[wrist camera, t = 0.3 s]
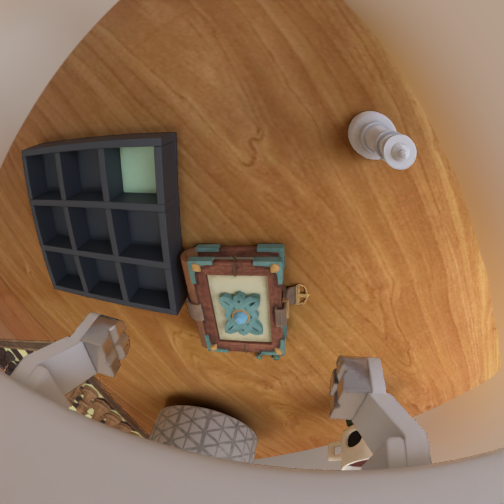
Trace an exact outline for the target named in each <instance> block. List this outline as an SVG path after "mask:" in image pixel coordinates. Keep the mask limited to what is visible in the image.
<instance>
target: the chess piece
mask: <svg viewBox="0 0 504 504" xmlns="http://www.w3.org/2000/svg"><path fill="white" fill-rule="evenodd" d="M348 139H349V142H350V144H351V146H352V148H353V149H354V150H355V151H356V152H357V153H358V154H360V155H361V156H363V157H365V158H367V159H371V160H379V159H382V160H384V161H386V163H387V164H388V165H389V166H391V167H392V168H395V169H399V170H402V169H406V168H408V167H410V166H411V165H412V164H413V162H414V161H415V158H416V152H417V151H416V146H415V144H414V142H413V141H412V140H411V139H410V138H409V137H408V136H406V135H403V134H400V133H398V132H397V131H396V128H395V126H394V125H393V123H392V122H391V121H390V119H389V118H387V117H386V116H384V115H383V114H381V113H378V112H375V111H365V112H361V113H360V114H358V115H356V116H355V117H354V118H353V119H352V121H351V122H350V124H349V128H348Z"/></svg>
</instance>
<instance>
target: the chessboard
mask: <svg viewBox="0 0 504 504" xmlns="http://www.w3.org/2000/svg"><path fill="white" fill-rule="evenodd" d="M54 342H56V341H27V340H7V339H0V368H1V369H3V370H4V369H5V366H7V364H8V365H9V366H8V368H6V371H5V374H7V375H9V376H10V375H11V374H12V372H13V371H14V370H15V368H16V367H17V366H18V364H19V363H20V362H21V360H22V359H23V358H24V357H25V356H26V355H29V354H31V353H33V352H35V351H37V350H39V349H41V348H44V347H46V346H48V345H50V344H52V343H54ZM65 397H66V398H67V400H68V401H69V403H70V408H69V409H71V410H73V411H75V412H78V413H80V414H82V415H84V416H87V417H89V418H91V419H94V420H96V421H98V422H101V423H103V424H106V425H108V426H111V427H114V428H116V429H119V430H122V431H124V432H127V433H130V434H133V435H136V436H139V437H142V438H145V439H149V435H148V434H147V433H146V432H145V431H144V430H143V429H142V428H141V427H140V426H139V425H138V424H137V423H136V422H135V421H134V420H133V419H132V418H131V417H130V416H129V415H128V414H127V413H126V412H125V411H124V410H123V409H122V408H121V407H120V406H119V405H118V404H117V403H116V401H115V400H114V399H113V398H112V397H111V396H110V395H109V394H108V393H107V391H106V390H105V389H104V388H103V387H102V386H101V385H100V383H99V382H98V381H97V380H96V379H95V378H94V376H92V377H90V378H89V379H87V380H86V381H85V382H83V383H82V384H80V385H79V386H77V387H76V388H74V389H73V390H71V391H70V392H68V393H67V394H65Z"/></svg>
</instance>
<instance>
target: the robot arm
mask: <svg viewBox="0 0 504 504" xmlns="http://www.w3.org/2000/svg"><path fill="white" fill-rule="evenodd" d="M125 329H126V326H125V323H124V321H122V320H118V319H115V318H111V317H108V316H104V315H100V314H97V313H94V312H91V313H89V314H88V315H87V316H86V318H85V319H84V320H83V321H82V323H81V324H80V325H79V326H78V328H77V329H76V330H75V331H74V333H73V334H72V335H71V337H68V336H67V337H65V338H63V339H61V340H59V341H56V342H54V343H52V344H50V345H48V346H46V347H44V348H41V349H39V350H37V351H35V352H33V353H31V354H29V355H26V356H25V357H24V358H23V359H22V360H21V362H20V363H19V364H18V366H17V367H16V368H15V370H14V371H13V372H12V374H11V375H10V376H9V375H7V374H5V373H4V372H2V371H1V370H0V504H504V448H500V449H497V450H494V451H490V452H486V453H482V454H479V455H474V456H470V457H465V458H461V459H456V460H450V461H445V462H439V463H433V464H432V463H431V457H430V449H429V443H428V437H427V434H426V433H425V432H424V430H423V429H422V428H421V427H420V426H419V425H418V424H417V423H416V421H415V420H414V419H413V418H412V417H411V416H410V415H409V414H408V412H407V411H406V410H405V409H404V408H403V407H402V406H401V405H400V404H399V402H398V401H397V400H396V399H395V398H394V397H393V396H392V395H391V394H390V393H386V387H385V381H384V375H383V370H382V364H381V360H380V358H374V357H357V356H341V355H340V356H339V357H338V359H337V362H336V366H337V368H336V369H334V370H333V373H332V376H331V380H330V395H331V396H332V399H331V402H330V418H331V419H346V420H352V422H353V424H354V425H355V427H356V429H357V430H358V432H359V433H360V435H361V436H362V438H363V440H364V441H365V443H366V444H367V446H368V447H369V449H370V451H371V452H372V454H373V455H372V456H371V457H370V458H369V459H368V460H367V461H366V462H365V463H364V464H363V465H362V466H361V470H313V469H296V468H285V467H276V466H266V465H259V464H252V463H246V462H239V461H234V460H228V459H223V458H218V457H213V456H208V455H203V454H199V453H195V452H191V451H187V450H183V449H179V448H175V447H171V446H168V445H164V444H161V443H158V442H154V441H151V440H148V439H145V438H142V437H139V436H136V435H133V434H130V433H127V432H124V431H122V430H119V429H116V428H114V427H111V426H108V425H106V424H103V423H101V422H98V421H96V420H94V419H91V418H89V417H87V416H84V415H82V414H80V413H78V412H75V411H73V410H71V409H69V408H70V403H69V401H68V400H67V398H66V397H65V394H67V393H68V392H70V391H71V390H73V389H74V388H76V387H77V386H79V385H80V384H82V383H83V382H85V381H86V380H87V379H89V378H90V377H92V376H93V375H95V374H96V373H97V372H98V373H101V374H104V375H107V376H111V377H114V376H115V375H116V373H117V371H118V370H119V368H120V366H121V364H120V360H122V359H124V358H125V357H126V356H127V354H128V352H129V348H130V339H129V336H128V335H127V334H126V332H125V331H124V330H125Z"/></svg>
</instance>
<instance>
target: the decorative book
mask: <svg viewBox="0 0 504 504" xmlns="http://www.w3.org/2000/svg"><path fill="white" fill-rule="evenodd" d="M180 257H181V262H182V267H183V271H184V275H185V280H186V284H187V288H188V292H189V295H188V297H187V298H186V302H187V305H188V309H189V313H190V316H191V318H193V319H194V320H196V324H197V328H198V332H199V336H200V339H201V343H202V346H204V347H205V348H208V351H215V352H229V351H242V352H246V353H247V352H255V353H256V352H260V353H258V354H257V353H256V356H257V359H262V355H272V358H273V359H274V360H279V359H280V356H279V355H285V340H286V337H287V319H289V305H291V304H296V305H301V304H305V302H306V301H307V297H309V293H308V291H307V288H306V286H305V285H302V284H297V285H296V286H292V287H289V288H287V290H286V287H284V283H283V270H284V268H285V257H284V244H258V246H220V244H198V245H197V246H196V247H193V248H190V249H187V250H186V251H184V252H183V253H182V254H181V256H180ZM299 286H301V287H304V289H305V294H300V288H299ZM300 297H305V300H304V302H301V303H299V300H300ZM261 353H262V355H261Z"/></svg>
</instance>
